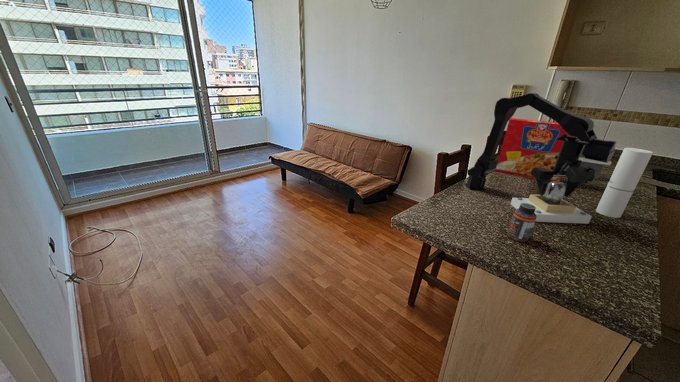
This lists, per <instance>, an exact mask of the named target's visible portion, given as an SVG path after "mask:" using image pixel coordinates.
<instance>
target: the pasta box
mask: <svg viewBox="0 0 680 382" xmlns="http://www.w3.org/2000/svg"><path fill="white" fill-rule="evenodd" d="M505 130H506V131H505V134H504V136H503V137H504V138H503V142H502V145H501V148H500V152H499V156H498V160H499V161H498V163H497V165H496V168H495V169H494V172H495V173H498V174H500V173H501V174H505V175H510V176H514V177H520V178H525V179H530V180H535V181H537V180H536V178H535V177H533V175H531V171H532V169H533V168H535V167H538V168H546V169H548V170H550V171H553V170H552V169H551V166H555V163H556V161H557V159H555V155H557V156H558V155H559V153H560V150H561V147H562V144H563V142H564V141H561V140H557V138H558V137H561V136H562V135H564V134H566V133H567V132H566V131H565V130H563V129H562V128H561V126H560V125H559V124H558V123H557V122H556V121H555V122H553V121H544V120H534V119H524V118H517V117H516V118H515V117H511V118H510V120H509V121H508V122H507V125H506V129H505ZM567 134H568V133H567ZM568 135H569V134H568ZM569 136H571V135H569ZM571 137H576V136H571ZM561 178H562V177H556V176H553V177H552V178H551V179H550V180H551V181H558V182H561Z"/></svg>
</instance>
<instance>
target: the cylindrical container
mask: <svg viewBox="0 0 680 382" xmlns="http://www.w3.org/2000/svg"><path fill="white" fill-rule="evenodd" d="M653 153H654V151H651V150H646V149H643V148H642V149H641V148H635V147H624V148H623V150H622V153H621V154H620V157H619V159H618V161H617V163H616V166H615V168H614V170H613V172H612V175H611V176H610V179H609V181H608V183H607V185H606V188H605V189H604V192H603V194H602V197H601V198H600V200H599V202H598V205H597V207H596V209H595V212H597V214H600V215H602V216H605V217H609V218H615V219H618V218H622V215H623V213H624V212H625V209H626V207H627V205H628V203H629V202H630V199H631V197H632V196H633V193H634V191H635V189H636V187H637V186H638V183H639V181H640V179H641V178H642V176H643V174H644V171H645V170H646V167H647V165H648V164H649V162H650V160H651V157H652V156H653Z"/></svg>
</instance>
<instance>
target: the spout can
mask: <svg viewBox="0 0 680 382" xmlns="http://www.w3.org/2000/svg"><path fill="white" fill-rule="evenodd" d="M566 187H567V183H564V182H562V181H559V182H558V181H551V182H550V183H548V185H547V187H546V190H545V193H544V195H545V196H544V199H543V201H544V202H545V203H547V204H549V205H560V203H561V200H562V199H563V197H564V196H565V190H566Z"/></svg>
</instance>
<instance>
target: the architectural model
mask: <svg viewBox="0 0 680 382" xmlns="http://www.w3.org/2000/svg"><path fill="white" fill-rule="evenodd" d="M584 148H585V145H584V147H583V150H584ZM583 150H582V152H581V155H580V158H579V160H581V162H582V163H581V167H583V168H594V169H595V170H596V171H595V174H594V179H593V180H596V181H597V180H598V179H599V176H600V175H601V172H602V170H603V168H604V165H605V166H611V165H612V161H611V160H610V161H609V162H608V163H605V162H600V161H595V160H590V159H586V158H585V156H583V155H582V153H583Z"/></svg>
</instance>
